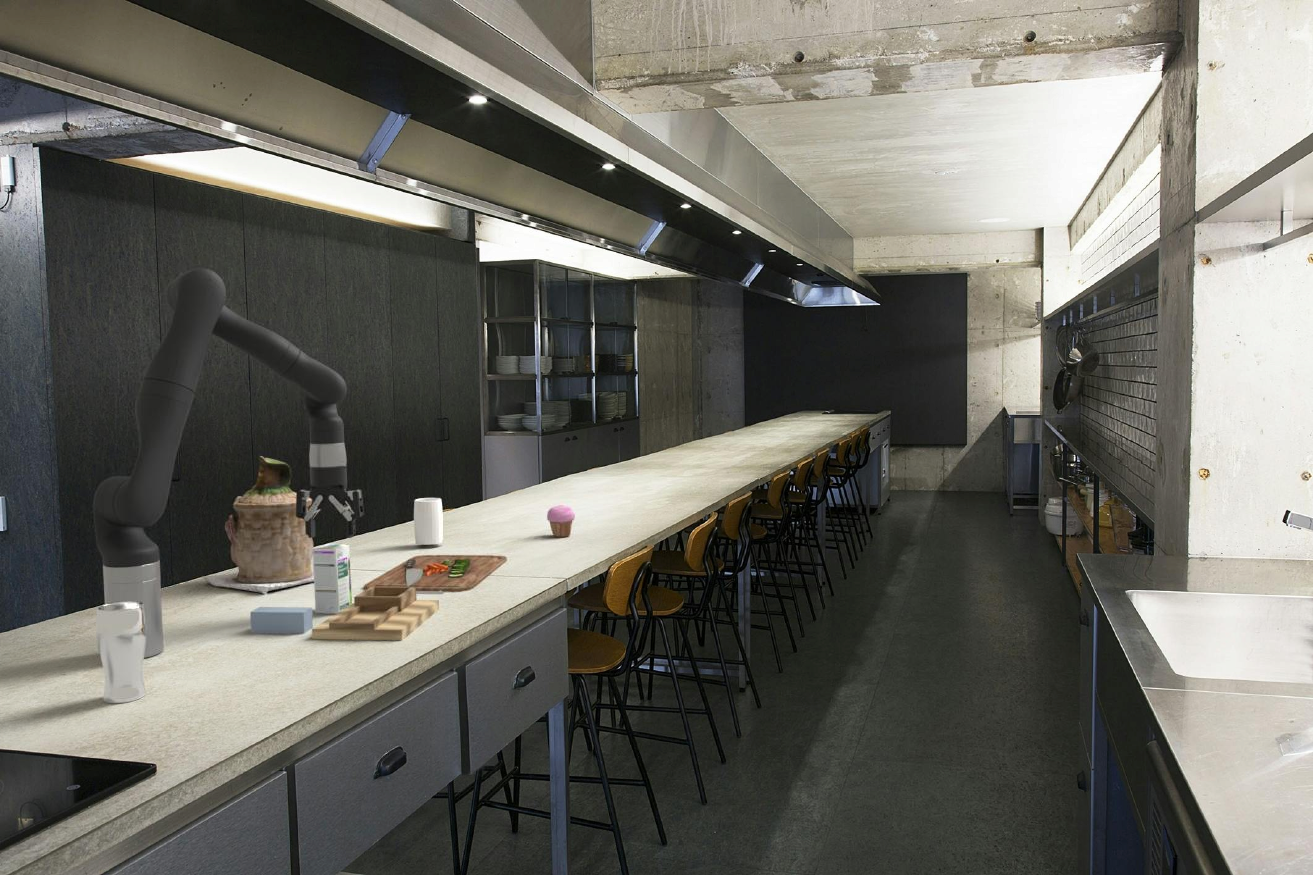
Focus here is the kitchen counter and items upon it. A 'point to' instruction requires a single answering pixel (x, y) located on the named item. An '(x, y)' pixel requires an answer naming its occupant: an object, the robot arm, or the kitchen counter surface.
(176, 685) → the kitchen counter surface
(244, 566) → the cookie jar
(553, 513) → the cupcake
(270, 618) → the block
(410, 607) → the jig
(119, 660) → the beer glass
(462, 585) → the chopping board
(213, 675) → the kitchen counter surface
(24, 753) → the kitchen counter surface
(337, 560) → the syrup box
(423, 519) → the cup
